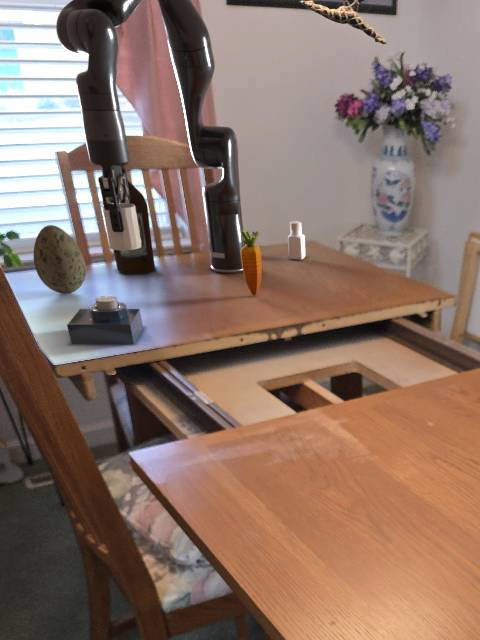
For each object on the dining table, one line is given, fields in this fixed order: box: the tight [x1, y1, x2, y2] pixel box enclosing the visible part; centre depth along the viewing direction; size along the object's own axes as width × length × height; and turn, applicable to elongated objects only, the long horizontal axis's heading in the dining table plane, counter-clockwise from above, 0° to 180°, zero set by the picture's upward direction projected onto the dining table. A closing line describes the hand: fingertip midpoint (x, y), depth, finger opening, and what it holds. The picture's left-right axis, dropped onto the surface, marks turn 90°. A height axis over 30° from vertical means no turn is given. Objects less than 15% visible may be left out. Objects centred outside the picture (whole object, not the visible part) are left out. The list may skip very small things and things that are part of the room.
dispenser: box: [66, 301, 144, 345], centre depth 143 cm, size 12×10×6 cm
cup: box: [101, 203, 142, 250], centre depth 147 cm, size 6×6×8 cm
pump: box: [94, 295, 118, 310], centre depth 141 cm, size 4×4×2 cm
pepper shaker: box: [287, 220, 306, 261], centre depth 198 cm, size 4×4×10 cm
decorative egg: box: [33, 224, 87, 295], centre depth 163 cm, size 11×11×15 cm
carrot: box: [240, 229, 263, 297], centre depth 166 cm, size 5×5×15 cm
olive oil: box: [102, 165, 156, 275], centre depth 179 cm, size 11×11×25 cm
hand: (122, 227), depth 147 cm, fingers closed on cup, 6 cm apart
